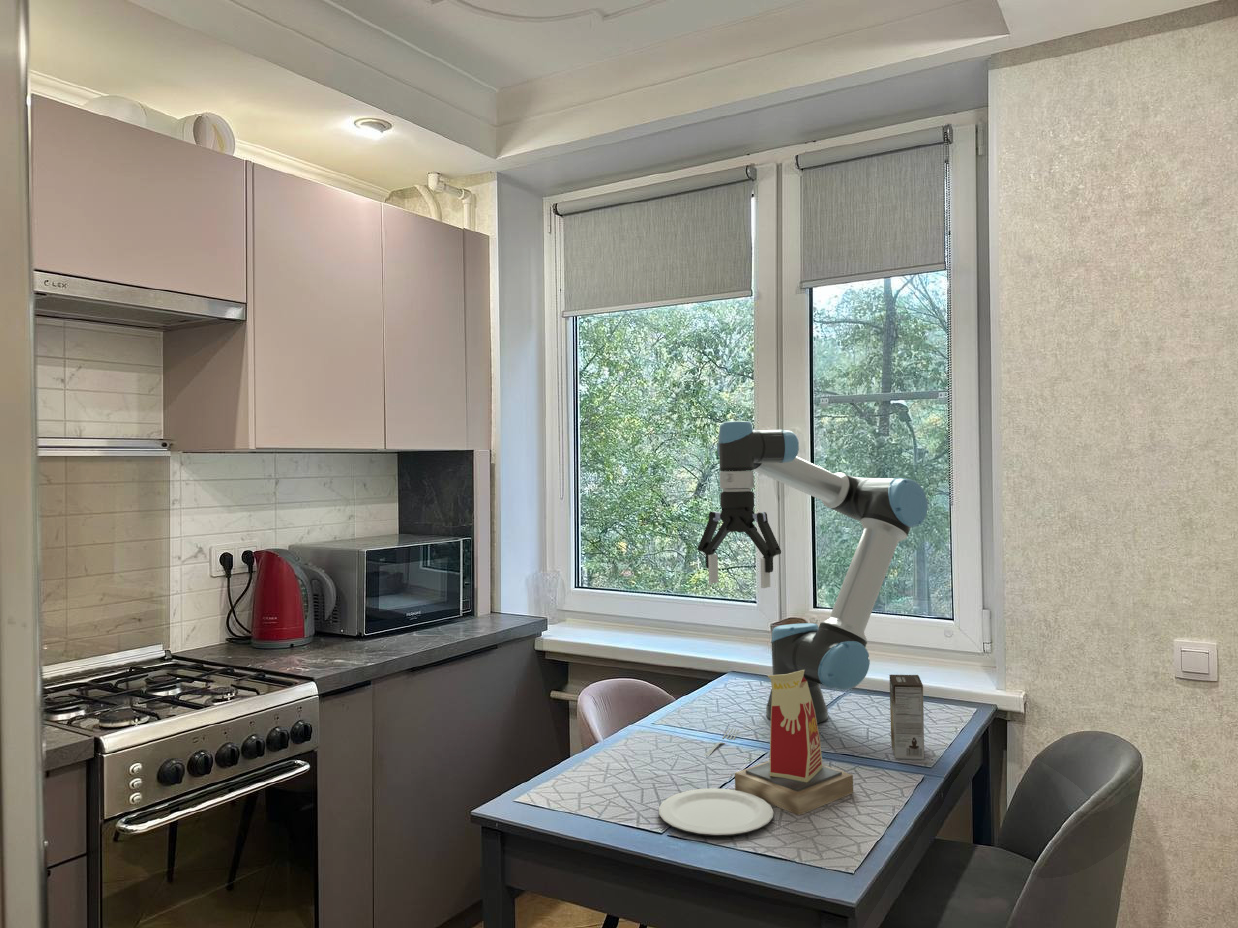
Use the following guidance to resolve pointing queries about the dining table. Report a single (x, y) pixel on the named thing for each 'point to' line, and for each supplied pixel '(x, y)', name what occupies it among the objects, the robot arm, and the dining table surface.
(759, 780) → the oak plinth
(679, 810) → the plate
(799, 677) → the milk carton
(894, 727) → the coffee box
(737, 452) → the robot arm
